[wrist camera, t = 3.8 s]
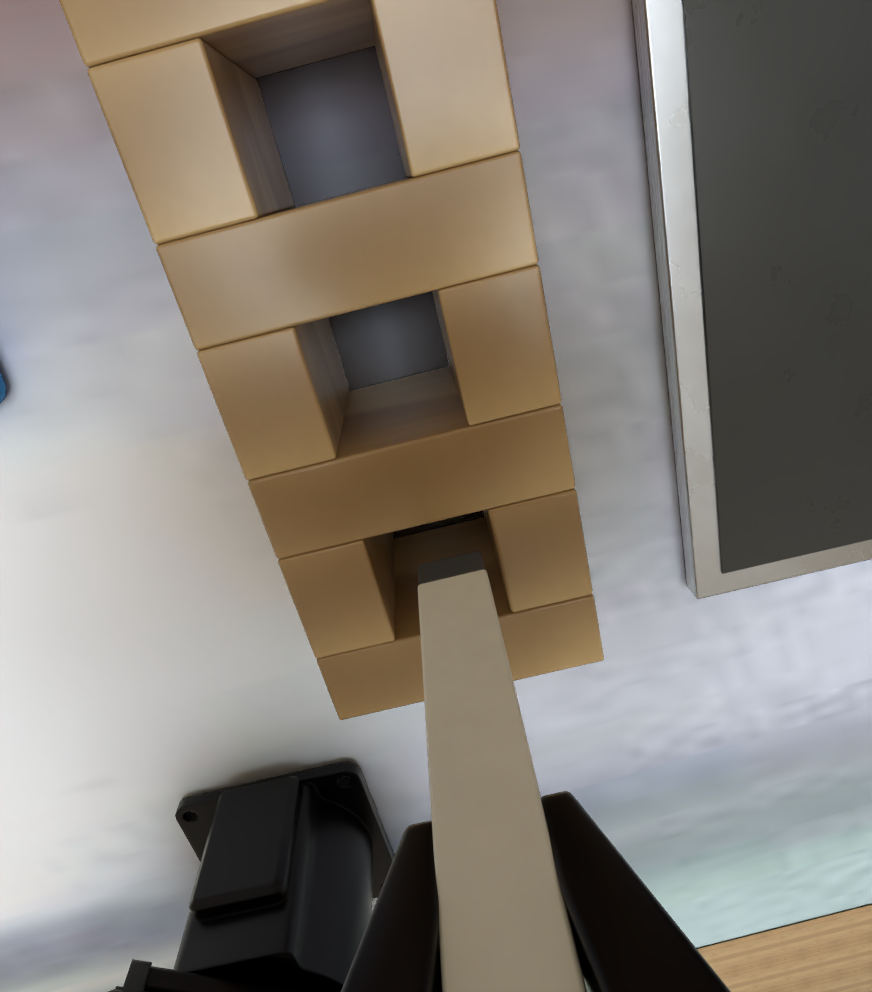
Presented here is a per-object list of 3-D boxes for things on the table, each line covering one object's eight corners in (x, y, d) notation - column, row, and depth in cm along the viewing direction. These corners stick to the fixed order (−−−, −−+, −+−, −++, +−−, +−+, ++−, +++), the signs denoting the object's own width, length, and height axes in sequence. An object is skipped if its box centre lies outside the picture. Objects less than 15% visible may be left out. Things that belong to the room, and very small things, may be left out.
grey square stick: (494, 602, 15) (655, 1269, 6) (431, 617, 15) (490, 1300, 6) (481, 546, 14) (635, 1194, 5) (414, 562, 14) (454, 1229, 5)
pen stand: (558, 555, 21) (604, 661, 16) (350, 605, 21) (339, 721, 17) (439, -84, 14) (462, -208, 10) (139, -1, 15) (25, -82, 10)
